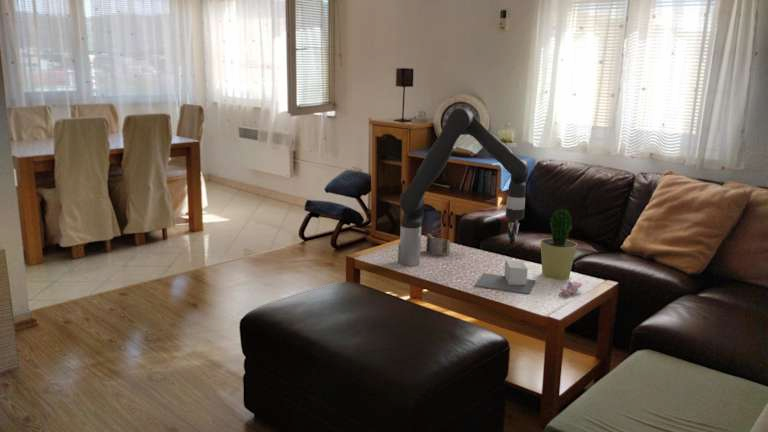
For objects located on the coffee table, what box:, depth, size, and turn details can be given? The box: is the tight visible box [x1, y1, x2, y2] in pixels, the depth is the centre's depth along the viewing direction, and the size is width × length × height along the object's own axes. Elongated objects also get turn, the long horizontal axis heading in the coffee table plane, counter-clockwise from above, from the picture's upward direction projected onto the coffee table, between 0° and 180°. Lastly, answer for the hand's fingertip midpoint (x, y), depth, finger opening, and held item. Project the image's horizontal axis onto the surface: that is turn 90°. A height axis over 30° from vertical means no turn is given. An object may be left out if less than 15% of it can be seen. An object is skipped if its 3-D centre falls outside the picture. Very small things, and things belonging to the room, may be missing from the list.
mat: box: [473, 272, 536, 295], centre depth 260 cm, size 22×18×1 cm
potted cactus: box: [539, 208, 578, 281], centre depth 271 cm, size 15×15×30 cm
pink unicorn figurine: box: [558, 281, 583, 298], centre depth 251 cm, size 6×6×15 cm
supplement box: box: [503, 259, 528, 285], centre depth 263 cm, size 7×7×13 cm
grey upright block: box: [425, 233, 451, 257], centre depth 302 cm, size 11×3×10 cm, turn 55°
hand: (511, 246), depth 267 cm, fingers closed
